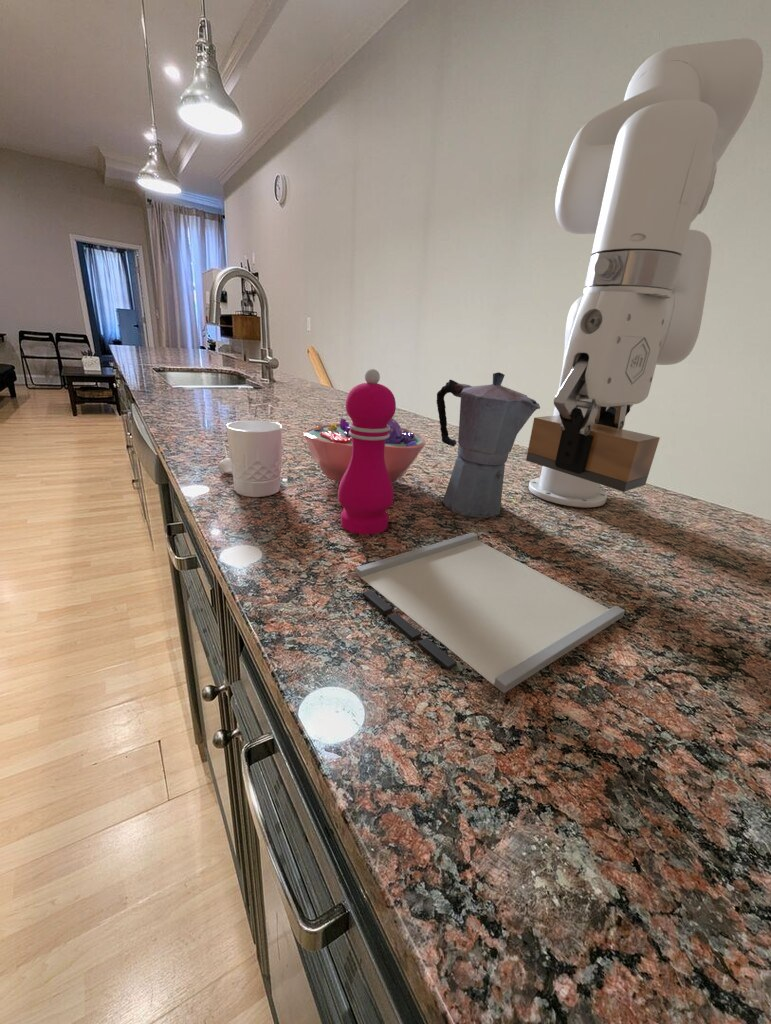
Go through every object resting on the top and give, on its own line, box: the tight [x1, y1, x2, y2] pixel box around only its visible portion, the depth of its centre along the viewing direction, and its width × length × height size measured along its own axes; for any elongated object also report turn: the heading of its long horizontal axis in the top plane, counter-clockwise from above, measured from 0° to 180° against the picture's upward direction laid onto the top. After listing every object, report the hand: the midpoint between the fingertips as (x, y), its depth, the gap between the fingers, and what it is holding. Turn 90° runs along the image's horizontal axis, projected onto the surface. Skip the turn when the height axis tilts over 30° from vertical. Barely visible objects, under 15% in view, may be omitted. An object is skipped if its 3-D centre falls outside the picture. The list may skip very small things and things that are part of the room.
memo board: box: [355, 532, 626, 694], centre depth 45 cm, size 18×20×1 cm
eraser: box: [525, 415, 661, 493], centre depth 48 cm, size 4×12×5 cm, turn 37°
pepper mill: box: [337, 368, 397, 535], centre depth 55 cm, size 7×7×20 cm
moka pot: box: [436, 371, 541, 518], centre depth 64 cm, size 10×15×20 cm, turn 58°
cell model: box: [302, 417, 427, 483], centre depth 74 cm, size 17×20×11 cm
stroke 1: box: [362, 589, 394, 615], centre depth 42 cm, size 4×1×1 cm, turn 37°
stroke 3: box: [417, 637, 458, 671], centre depth 36 cm, size 4×1×1 cm, turn 38°
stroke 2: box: [386, 612, 422, 642], centre depth 39 cm, size 4×1×1 cm, turn 37°
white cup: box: [225, 419, 283, 498], centre depth 67 cm, size 8×8×10 cm
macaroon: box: [217, 457, 233, 475], centre depth 74 cm, size 4×5×2 cm
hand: (583, 465), depth 49 cm, fingers closed on eraser, 4 cm apart
